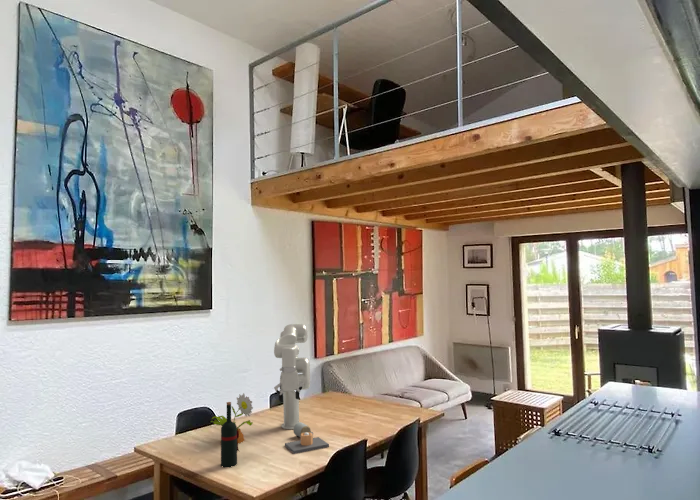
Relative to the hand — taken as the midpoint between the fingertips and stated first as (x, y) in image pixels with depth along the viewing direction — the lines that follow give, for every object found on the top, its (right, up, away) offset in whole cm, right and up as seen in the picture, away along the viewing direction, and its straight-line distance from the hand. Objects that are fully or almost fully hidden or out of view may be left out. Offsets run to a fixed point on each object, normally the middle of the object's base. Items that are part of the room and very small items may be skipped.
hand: (289, 400), depth 268 cm
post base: (+10, -23, -8) cm, 26 cm away
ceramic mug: (+7, -24, +9) cm, 27 cm away
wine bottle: (-25, -22, -31) cm, 45 cm away
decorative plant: (-34, -25, +4) cm, 42 cm away
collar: (+10, -21, -8) cm, 25 cm away
